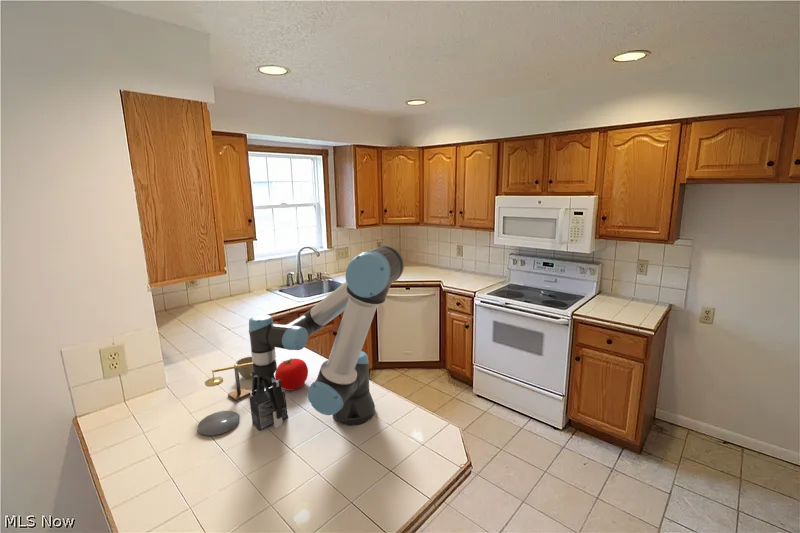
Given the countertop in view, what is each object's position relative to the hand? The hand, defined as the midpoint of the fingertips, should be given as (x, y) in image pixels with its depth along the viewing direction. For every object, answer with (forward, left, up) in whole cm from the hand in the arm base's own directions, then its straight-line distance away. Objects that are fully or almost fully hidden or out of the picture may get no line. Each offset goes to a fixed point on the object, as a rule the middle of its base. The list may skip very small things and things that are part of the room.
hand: (270, 420), depth 132 cm
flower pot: (+35, -13, 0) cm, 37 cm away
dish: (+12, +12, 0) cm, 17 cm away
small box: (0, 0, 0) cm, 0 cm away
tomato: (+13, -19, 0) cm, 23 cm away
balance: (+24, -2, 0) cm, 24 cm away
